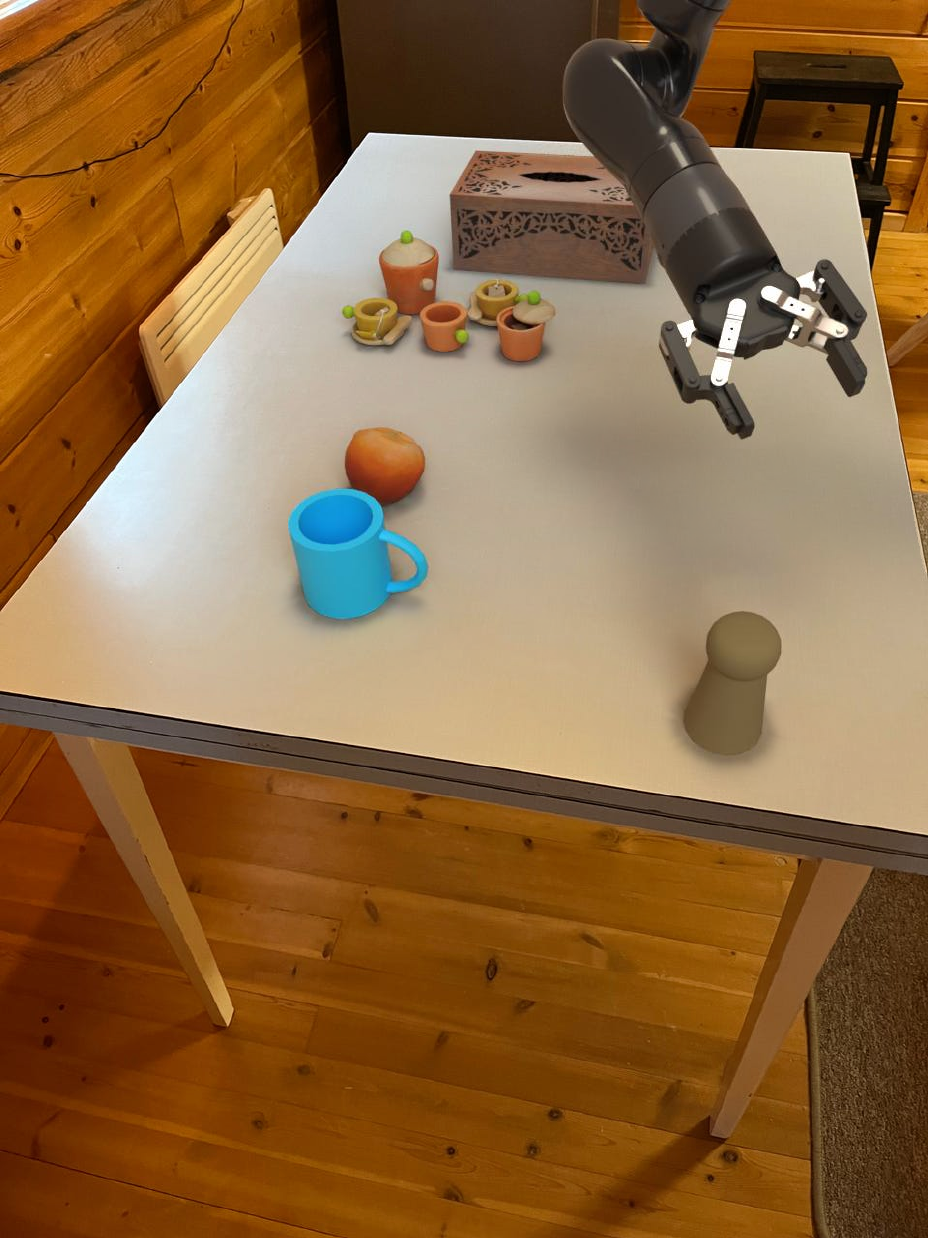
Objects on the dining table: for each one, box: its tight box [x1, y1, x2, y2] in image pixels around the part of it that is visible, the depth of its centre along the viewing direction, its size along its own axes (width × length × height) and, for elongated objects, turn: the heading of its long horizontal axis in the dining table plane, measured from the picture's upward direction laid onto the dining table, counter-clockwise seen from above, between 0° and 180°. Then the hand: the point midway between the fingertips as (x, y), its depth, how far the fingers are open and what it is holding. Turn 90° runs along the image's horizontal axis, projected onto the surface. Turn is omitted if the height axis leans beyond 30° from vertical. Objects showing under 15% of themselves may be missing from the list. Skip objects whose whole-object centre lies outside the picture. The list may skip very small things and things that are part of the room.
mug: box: [287, 488, 429, 620], centre depth 82 cm, size 12×8×8 cm
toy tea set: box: [341, 230, 557, 362], centre depth 112 cm, size 26×16×10 cm, turn 72°
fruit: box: [344, 426, 426, 506], centre depth 92 cm, size 8×8×8 cm
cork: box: [683, 610, 782, 756], centre depth 69 cm, size 6×6×11 cm
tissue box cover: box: [449, 150, 654, 285], centre depth 124 cm, size 26×14×10 cm, turn 76°
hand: (803, 411), depth 68 cm, fingers open, 8 cm apart
